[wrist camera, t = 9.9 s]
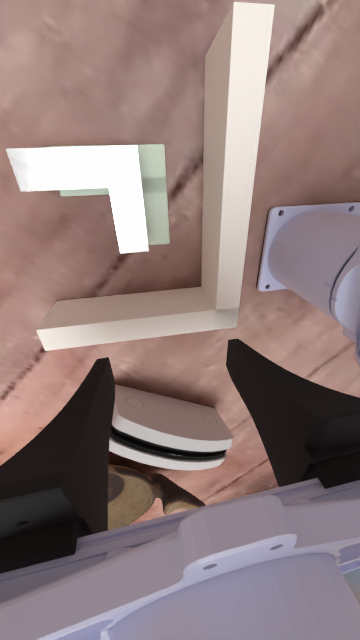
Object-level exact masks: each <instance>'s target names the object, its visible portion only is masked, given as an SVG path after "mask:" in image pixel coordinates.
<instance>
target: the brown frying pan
mask: <svg viewBox="0 0 360 640" xmlns="http://www.w3.org/2000/svg"><path fill="white" fill-rule="evenodd" d="M155 498H160V499H161V500H162V504H163V511H164V514H165V515H167V514H169V513H171V512H173V511H174V510H176V509H180V508H186V509H195V508H199V507H203V506H206V505H205V504H204V503H203V502H202V501H201V500H199V499H198V498H196V497H195V496H193V495H192V494H191V493H189V492H187V491H186V490H184V489H183V488H181V487H179V486H178V485H176V484H175V483H174V482H172V481H171V480H169V479H168V478H167V477H165V476H164V475H162V474H159V473H151V474H148V475H144V474H143V473H141V472H140V471H138V470H135V469H132V468H129V467H124V466H118V465H110V464H109V465H108V530H112V529H116V528H120V527H124V526H127V525H129V524H130V523H131V522H134V521H135V520H136V519H137V518H139V517H140V516H142V515H143V514H144V513H145V512H147V511H148V510H149V509H150V507H151V506H152V504H153V503H154V500H155Z"/></svg>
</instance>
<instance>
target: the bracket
mask: <svg viewBox="0 0 360 640" xmlns="http://www.w3.org/2000/svg"><path fill="white" fill-rule="evenodd" d="M6 151H7V154H8V157H9V160H10V162H11V165H12V168H13V171H14V174H15V176H16V179H17V182H18V185H19V188H20V190H21V192H22V191H44V190H65V189H87V188H109V193H110V198H111V204H112V210H113V215H114V221H115V227H116V232H117V238H118V244H119V249H120V253H132V252H144V251H149V249H148V240H147V231H146V222H145V213H144V204H143V195H142V186H141V177H140V168H139V159H138V150H137V145H136V146H95V147H54V148H12V149H6Z"/></svg>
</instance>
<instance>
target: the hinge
mask: <svg viewBox="0 0 360 640" xmlns="http://www.w3.org/2000/svg"><path fill="white" fill-rule="evenodd" d="M232 440H233V435H232V434H231V432H230V431H229V429H228V427H227V426H226V424H225V423H224V421H223V420H222V418H221V417H220V415H219V414H218V412H217V411H216V409H215V408H211V407H207V406H203V405H199V404H195V403H191V402H187V401H183V400H179V399H174V398H170V397H166V396H162V395H158V394H154V393H150V392H146V391H141V390H137V389H133V388H129V387H125V386H121V385H117V384H115V404H114V411H113V419H112V426H111V433H110V442H109V451H110V452H113V453H115V454H117V455H120V456H122V457H125V458H128V459H131V460H134V461H137V462H140V463H144V464H148V465H152V466H156V467H161V468H167V469H175V470H202V469H208V468H213V467H216V466H219V465H220V464H221V463H222V462H223V461H224V459H225V458H226V450H227V449H230V448H231V444H232Z"/></svg>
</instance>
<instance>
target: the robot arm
mask: <svg viewBox="0 0 360 640" xmlns="http://www.w3.org/2000/svg"><path fill="white" fill-rule="evenodd" d="M350 207H351V209H350V210H349V208H350ZM280 210H281V211H282V213H281V215H280V216H279V215H278V213H279V211H280ZM266 285H268V287H266ZM265 287H266V288H265ZM257 289H258V290H259V291H261V292H263V291H273V290H282V289H289V290H291V291H292V292H294V293H295V294H297V295H298V296H300V297H301V298H303V299H304V300H306V301H307V302H309V303H310V304H312V305H313V306H315V307H316V308H318V309H319V310H321V311H322V312H323V313H325V314H326V315H328V316H329V317H331V318H332V319H334V320H335V321H337V322H339V323H340V324H341V325H342V327H343V335H345V336H346V337H348V338H349V339H350V340H352V341H353V342H355V343H356V347H355V358H356V361H357V363H358V366H359V367H360V202H354V203H335V204H317V205H299V206H281V207H273V208H271V209H270V211H269V214H268V221H267V227H266V233H265V240H264V246H263V253H262V259H261V265H260V272H259V278H258V284H257ZM226 366H227V369H228V372H229V374H230V377H231V379H232V381H233V383H234V385H235V387H236V388H237V390H238V392H239V394H240V396H241V397H242V399H243V401H244V403H245V405H246V406H247V408H248V410H249V412H250V414H251V416H252V418H253V421H254V423H255V425H256V428H257V430H258V432H259V435H260V437H261V440H262V442H263V445H264V447H265V450H266V452H267V455H268V458H269V460H270V463H271V466H272V468H273V471H274V474H275V477H276V480H277V483H278V486H279V488H275V489H271V490H267V491H263V492H259V493H255V494H251V495H247V496H243V497H239V498H235V499H231V500H227V501H223V502H219V503H215V504H211V505H207V506H203V507H199V508H195V509H191V510H187V511H183V512H179V513H175V514H171V515H167V516H163V517H159V518H156V519H152V520H148V521H144V522H140V523H136V524H132V525H128V526H124V527H120V528H116V529H112V530H108V465H109V442H110V433H111V426H112V419H113V411H114V404H115V380H114V376H113V373H112V369H111V365H110V361H109V357H108V358H101V359H97V360H96V362H95V363H94V365H93V367H92V368H91V370H90V372H89V373H88V375H87V376H86V378H85V379H84V381H83V382H82V384H81V385H80V387H79V388H78V390H77V391H76V392H75V394H74V395H73V396H72V398H71V399H70V400H69V402H68V403H67V404H66V405H65V406H64V408H63V409H62V410H61V411H60V412H59V413H58V415H57V416H56V417H55V418H54V419H53V420H52V421H51V422H50V423H49V424H48V425H47V426H46V427H45V428H44V429H43V430H42V431H41V432H40V433H39V434H38V435H37V436H36V437H35V438H34V439H32V440H31V441H30V442H29V443H28V444H27V445H26V446H25V447H23V448H22V449H21V450H20V451H19V452H17V453H16V454H15V455H14V456H13V457H11V458H10V459H9V460H7V461H6V462H5V463H4V464H2V465H1V466H0V640H360V606H359V605H358V602H357V601H356V599H355V597H354V595H353V593H352V591H351V590H350V588H349V586H348V584H347V582H346V580H345V578H344V577H343V575H342V574H344V573H346V572H349V571H352V570H354V569H357V568H360V398H358V397H355V396H351V395H348V394H344V393H341V392H338V391H335V390H332V389H329V388H326V387H323V386H321V385H318V384H316V383H313V382H311V381H309V380H306V379H304V378H302V377H299V376H297V375H295V374H293V373H291V372H289V371H287V370H286V369H284V368H282V367H280V366H278V365H277V364H275V363H273V362H272V361H270V360H268V359H267V358H265V357H264V356H262V355H261V354H259V353H258V352H256V351H255V350H254V349H252V348H251V347H249V346H248V345H246V344H245V343H244V342H242V341H241V340H239V339H232V340H228V350H227V361H226Z"/></svg>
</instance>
